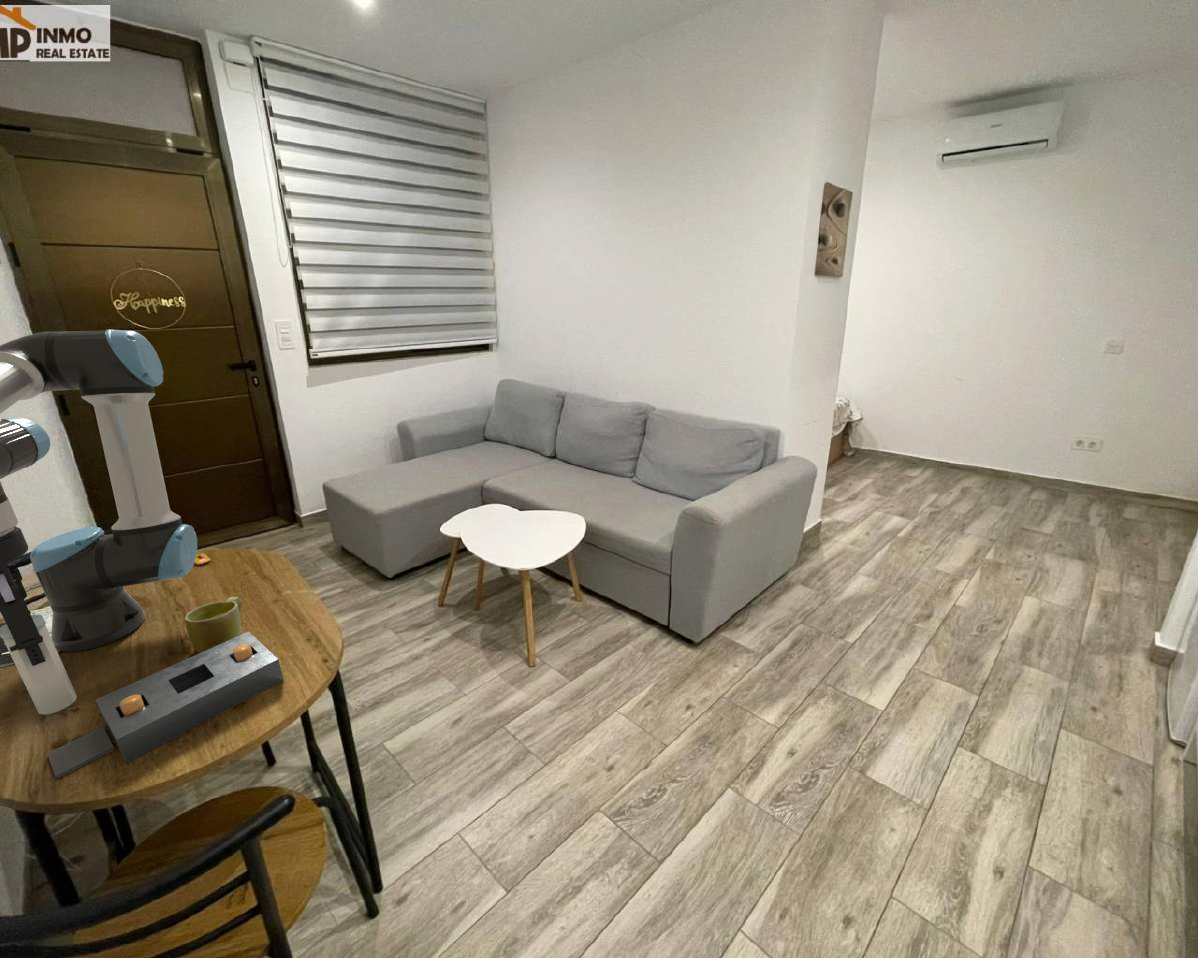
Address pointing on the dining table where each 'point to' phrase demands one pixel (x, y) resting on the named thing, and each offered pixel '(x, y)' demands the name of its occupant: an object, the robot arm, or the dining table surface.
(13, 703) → the dining table surface
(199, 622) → the mug
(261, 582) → the dining table surface
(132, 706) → the plunger near
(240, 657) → the orange egg shape
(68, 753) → the mat
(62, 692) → the cartridge
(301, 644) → the dining table surface
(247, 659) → the housing
